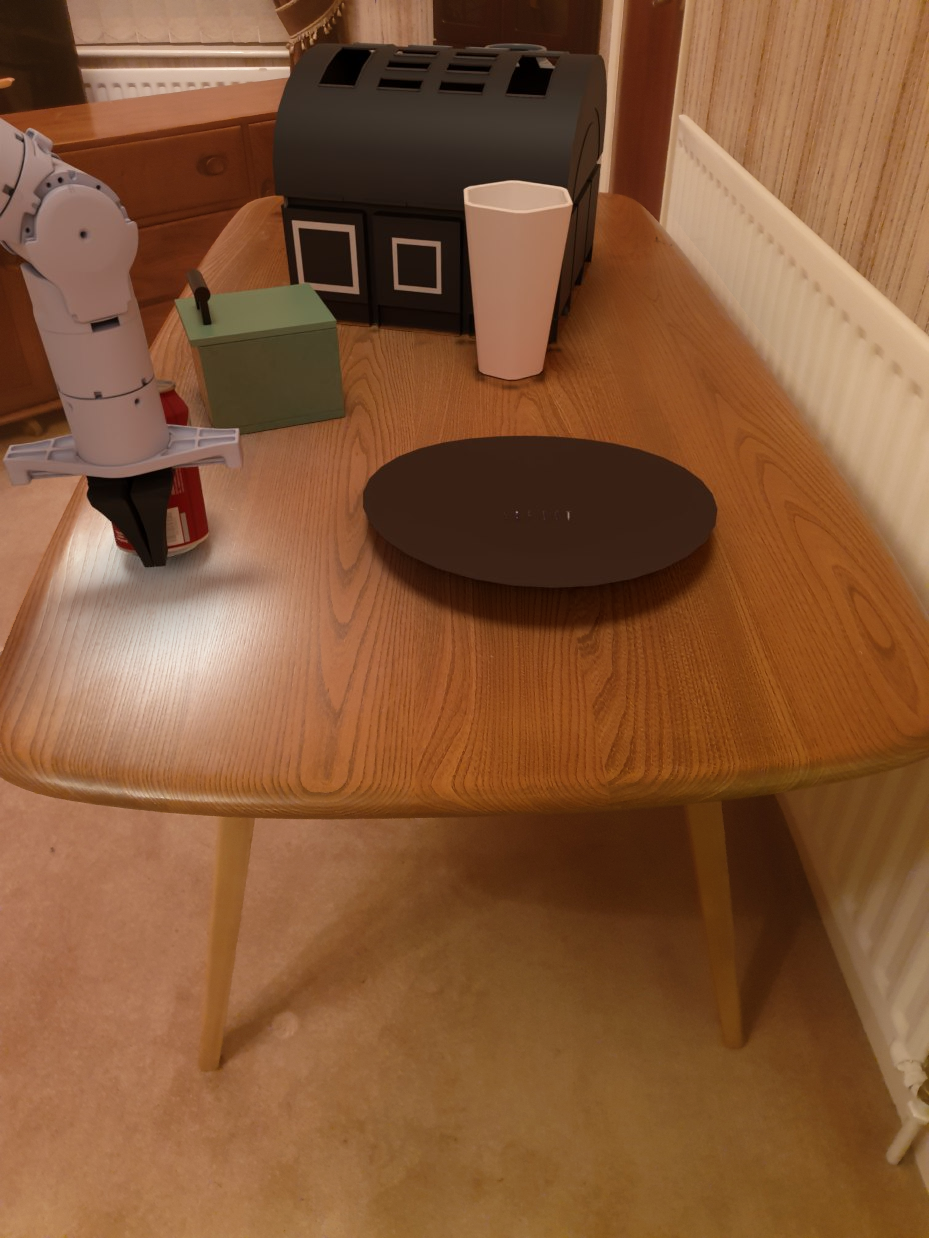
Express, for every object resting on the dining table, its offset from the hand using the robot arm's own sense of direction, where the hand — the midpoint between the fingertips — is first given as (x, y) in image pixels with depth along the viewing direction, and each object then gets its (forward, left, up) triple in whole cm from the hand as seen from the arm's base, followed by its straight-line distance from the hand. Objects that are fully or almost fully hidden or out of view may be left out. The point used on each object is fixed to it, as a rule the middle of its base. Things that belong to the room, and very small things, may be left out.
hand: (156, 559), depth 62 cm
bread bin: (+13, +27, -3) cm, 30 cm away
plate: (+29, -1, -3) cm, 30 cm away
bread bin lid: (+13, +27, +6) cm, 30 cm away
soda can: (+1, +4, -2) cm, 4 cm away
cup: (+39, +27, -3) cm, 48 cm away
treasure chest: (+42, +52, -3) cm, 67 cm away
